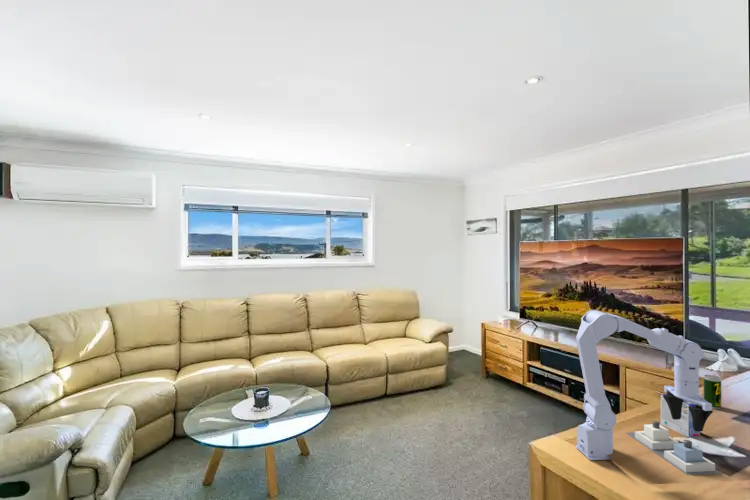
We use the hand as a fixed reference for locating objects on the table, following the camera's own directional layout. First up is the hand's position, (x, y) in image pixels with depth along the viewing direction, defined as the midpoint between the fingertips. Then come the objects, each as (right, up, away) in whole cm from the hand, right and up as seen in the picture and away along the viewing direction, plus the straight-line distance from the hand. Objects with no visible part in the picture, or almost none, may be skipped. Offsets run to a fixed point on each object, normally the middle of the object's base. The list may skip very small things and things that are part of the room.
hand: (686, 424), depth 115 cm
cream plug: (-4, -9, +7) cm, 12 cm away
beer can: (+40, -10, +37) cm, 56 cm away
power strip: (-4, -10, +2) cm, 11 cm away
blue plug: (-4, -9, -5) cm, 11 cm away
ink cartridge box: (+10, -11, +15) cm, 21 cm away
